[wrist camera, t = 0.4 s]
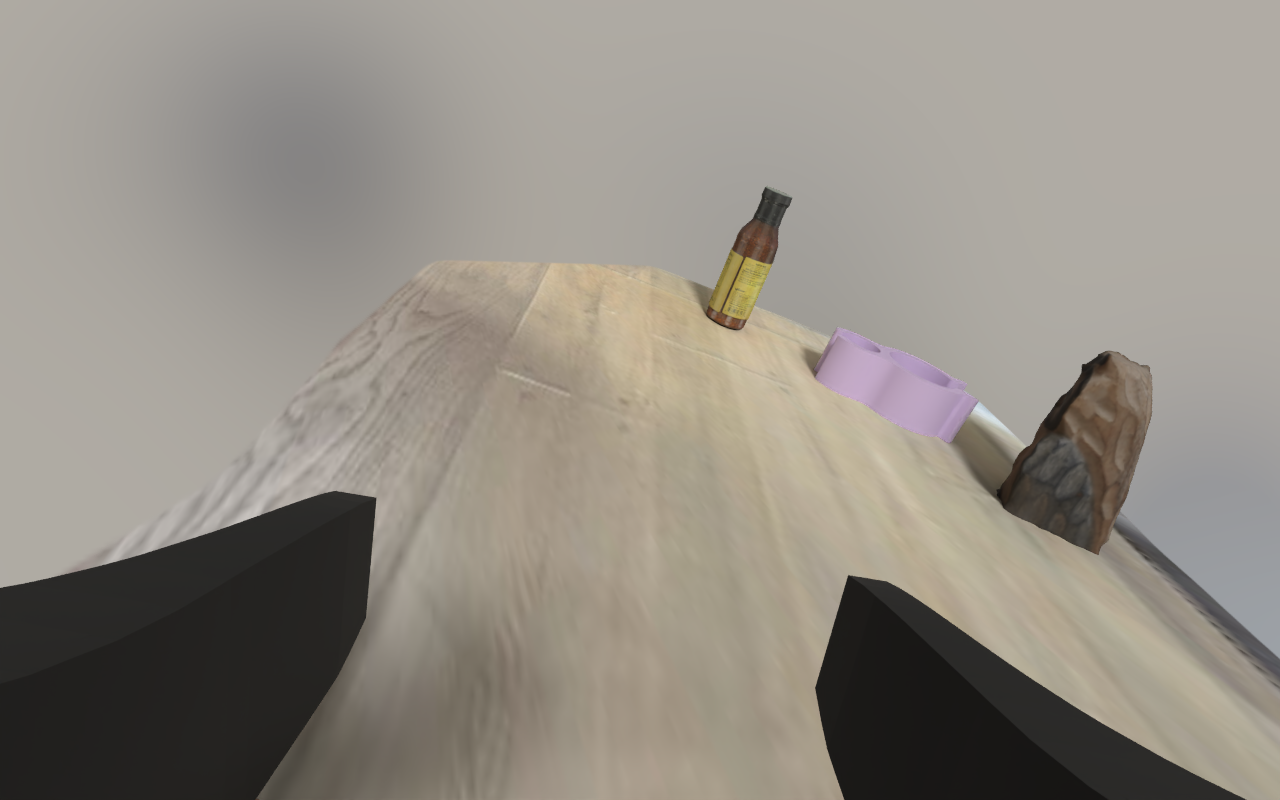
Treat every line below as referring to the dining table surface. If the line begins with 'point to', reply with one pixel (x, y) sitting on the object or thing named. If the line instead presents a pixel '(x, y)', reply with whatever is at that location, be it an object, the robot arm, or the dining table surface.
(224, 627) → the robot arm
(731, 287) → the sauce bottle
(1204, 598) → the dining table surface
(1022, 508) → the owl
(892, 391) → the clip
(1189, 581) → the dining table surface
